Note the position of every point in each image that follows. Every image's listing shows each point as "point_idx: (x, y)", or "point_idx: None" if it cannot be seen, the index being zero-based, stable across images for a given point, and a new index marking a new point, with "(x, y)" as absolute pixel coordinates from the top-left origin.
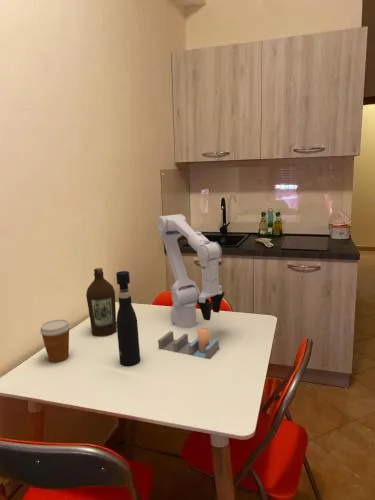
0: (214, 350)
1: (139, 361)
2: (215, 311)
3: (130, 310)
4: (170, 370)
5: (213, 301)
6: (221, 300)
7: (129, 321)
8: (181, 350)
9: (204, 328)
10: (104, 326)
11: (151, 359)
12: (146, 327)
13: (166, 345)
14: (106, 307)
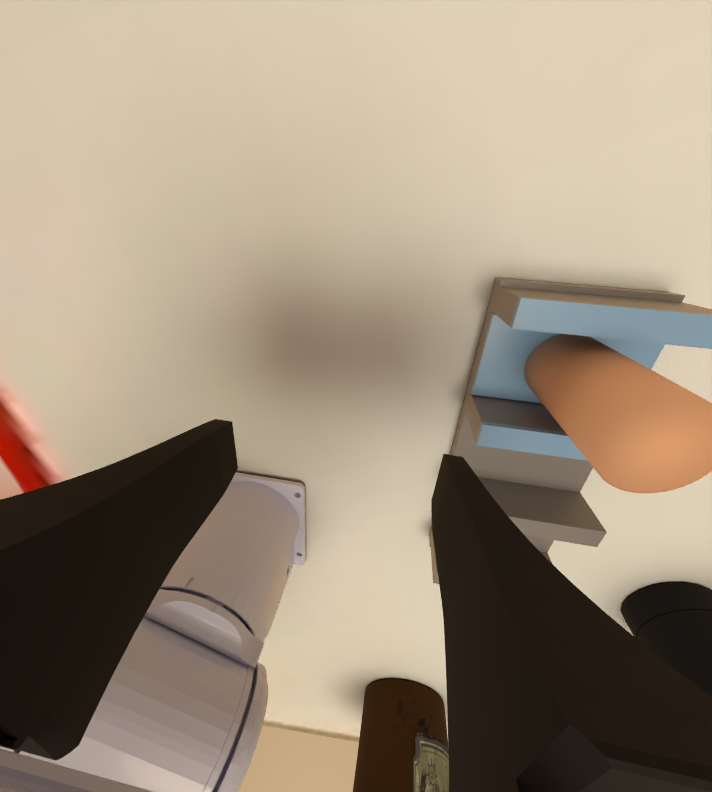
0: (586, 296)
1: (695, 599)
2: (229, 453)
3: None
4: None
5: (153, 562)
6: (67, 488)
7: None
8: (556, 477)
9: (602, 449)
10: (440, 740)
11: (621, 557)
12: (330, 621)
13: None
14: None
